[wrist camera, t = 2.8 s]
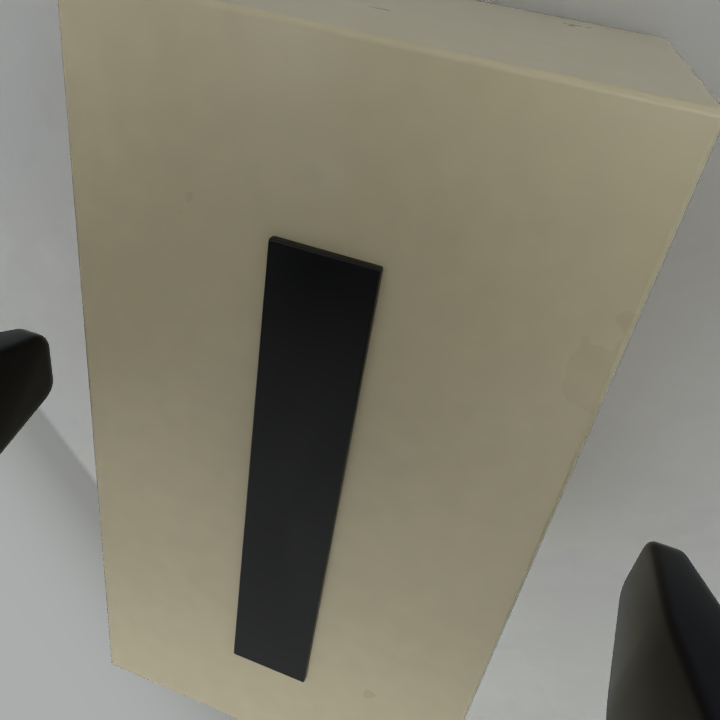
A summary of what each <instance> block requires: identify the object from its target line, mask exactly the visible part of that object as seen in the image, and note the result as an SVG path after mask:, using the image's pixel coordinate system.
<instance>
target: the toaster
mask: <svg viewBox="0 0 720 720" xmlns="http://www.w3.org/2000/svg"><path fill="white" fill-rule="evenodd" d="M58 7H59V19H60V31H61V44H62V56H63V68H64V81H65V93H66V105H67V118H68V130H69V142H70V155H71V167H72V179H73V192H74V204H75V216H76V229H77V241H78V253H79V266H80V278H81V290H82V303H83V315H84V327H85V340H86V352H87V364H88V377H89V389H90V401H91V414H92V426H93V438H94V451H95V463H96V475H97V488H98V499H99V512H100V525H101V536H102V549H103V561H104V574H105V585H106V597H107V611H108V623H109V634H110V635H109V636H110V647H111V659H112V663H113V664H114V665H115V666H118V667H120V668H122V669H125V670H127V671H129V672H132V673H134V674H136V675H138V676H141V677H143V678H145V679H147V680H150V681H152V682H155V683H157V684H159V685H161V686H163V687H166V688H168V689H170V690H173V691H175V692H177V693H179V694H182V695H184V696H186V697H189V698H191V699H193V700H195V701H198V702H200V703H202V704H205V705H207V706H209V707H211V708H214V709H216V710H218V711H221V712H223V713H225V714H228V715H230V716H232V717H234V718H237V719H239V720H464V719H465V717H466V715H467V712H468V710H469V708H470V705H471V703H472V701H473V698H474V696H475V694H476V692H477V689H478V687H479V685H480V682H481V680H482V678H483V675H484V673H485V671H486V669H487V666H488V664H489V662H490V659H491V657H492V655H493V652H494V650H495V648H496V646H497V643H498V641H499V639H500V636H501V634H502V632H503V629H504V627H505V625H506V623H507V620H508V618H509V616H510V613H511V611H512V609H513V606H514V604H515V602H516V600H517V597H518V595H519V593H520V590H521V588H522V586H523V583H524V581H525V579H526V577H527V574H528V572H529V570H530V567H531V565H532V563H533V560H534V558H535V556H536V554H537V551H538V549H539V547H540V544H541V542H542V540H543V538H544V535H545V533H546V531H547V528H548V526H549V524H550V521H551V519H552V517H553V515H554V512H555V510H556V508H557V505H558V503H559V501H560V498H561V496H562V494H563V492H564V489H565V487H566V485H567V482H568V480H569V478H570V475H571V473H572V471H573V469H574V466H575V464H576V462H577V459H578V457H579V455H580V452H581V450H582V448H583V446H584V443H585V441H586V439H587V436H588V434H589V432H590V429H591V427H592V425H593V423H594V420H595V418H596V416H597V413H598V411H599V409H600V406H601V404H602V402H603V400H604V397H605V395H606V393H607V390H608V388H609V386H610V383H611V381H612V379H613V377H614V374H615V372H616V370H617V367H618V365H619V363H620V360H621V358H622V356H623V354H624V351H625V349H626V347H627V344H628V342H629V340H630V337H631V335H632V333H633V331H634V328H635V326H636V324H637V321H638V319H639V317H640V314H641V312H642V310H643V308H644V305H645V303H646V301H647V298H648V296H649V294H650V291H651V289H652V287H653V285H654V282H655V280H656V278H657V275H658V273H659V271H660V268H661V266H662V264H663V262H664V259H665V257H666V255H667V252H668V250H669V248H670V245H671V243H672V241H673V239H674V236H675V234H676V232H677V229H678V227H679V225H680V222H681V220H682V218H683V216H684V213H685V211H686V209H687V206H688V204H689V202H690V200H691V197H692V195H693V193H694V190H695V188H696V186H697V183H698V181H699V179H700V177H701V174H702V172H703V170H704V167H705V165H706V163H707V160H708V158H709V156H710V154H711V151H712V149H713V147H714V144H715V142H716V140H717V137H718V135H719V133H720V104H719V102H718V101H717V100H716V99H715V98H714V96H713V95H712V94H711V93H710V92H709V90H708V89H707V88H706V87H705V85H704V84H703V83H702V82H701V81H700V79H699V78H698V77H697V76H696V74H695V73H694V72H693V71H692V70H691V68H690V67H689V66H688V65H687V63H686V62H685V61H684V60H683V59H682V57H681V56H680V55H679V54H678V52H677V51H676V50H675V49H674V48H673V46H672V45H671V44H670V43H669V41H668V40H667V39H665V38H662V37H657V36H652V35H647V34H642V33H637V32H632V31H627V30H622V29H617V28H612V27H606V26H601V25H596V24H591V23H586V22H581V21H576V20H571V19H566V18H561V17H556V16H551V15H546V14H541V13H536V12H531V11H525V10H520V9H515V8H510V7H505V6H500V5H495V4H490V3H485V2H480V1H475V0H58Z"/></svg>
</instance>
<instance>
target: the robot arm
mask: <svg viewBox="0 0 720 720" xmlns="http://www.w3.org/2000/svg"><path fill="white" fill-rule="evenodd" d="M52 384H53V375H52V366H51V358H50V349H49V344H48V342H47V340H46V338H45V337H43V336H42V335H39V334H36V333H33V332H30V331H27V330H24V329H14V330H9V331H4V332H0V454H1V453H2V451H3V450H4V449H5V447H6V446H7V445H8V444H9V443H10V441H11V440H12V439H13V438H14V437H15V435H16V434H17V433H18V432H19V431H20V429H21V428H22V427H23V426H24V424H25V423H26V422H27V421H28V419H29V418H30V417H31V416H32V415H33V413H34V412H35V411H36V410H37V409H38V407H39V406H40V405H41V404H42V402H43V401H44V400H45V399H46V398H47V396H48V395H49V393H50V391H51V388H52ZM606 720H720V604H719V603H718V601H717V600H716V598H715V597H714V595H713V594H712V592H711V591H710V590H709V588H708V587H707V585H706V584H705V582H704V581H703V579H702V578H701V576H700V575H699V573H698V572H697V570H696V569H695V567H694V566H693V565H692V563H691V562H690V560H689V559H688V557H687V556H686V555H685V554H684V553H683V552H682V551H680V550H678V549H676V548H673V547H670V546H667V545H664V544H661V543H658V542H654V541H653V542H649V543H647V544H646V545H645V546H644V548H643V550H642V551H641V553H640V555H639V557H638V559H637V560H636V562H635V564H634V566H633V568H632V569H631V571H630V573H629V575H628V577H627V578H626V580H625V582H624V585H623V587H622V591H621V595H620V600H619V608H618V616H617V624H616V633H615V641H614V649H613V657H612V666H611V674H610V682H609V691H608V701H607V715H606Z"/></svg>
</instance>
